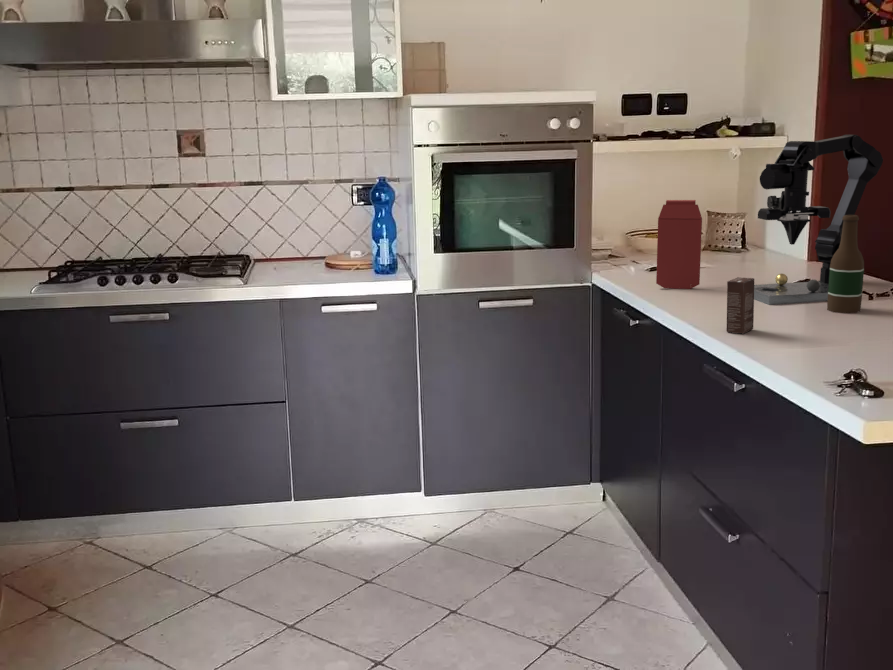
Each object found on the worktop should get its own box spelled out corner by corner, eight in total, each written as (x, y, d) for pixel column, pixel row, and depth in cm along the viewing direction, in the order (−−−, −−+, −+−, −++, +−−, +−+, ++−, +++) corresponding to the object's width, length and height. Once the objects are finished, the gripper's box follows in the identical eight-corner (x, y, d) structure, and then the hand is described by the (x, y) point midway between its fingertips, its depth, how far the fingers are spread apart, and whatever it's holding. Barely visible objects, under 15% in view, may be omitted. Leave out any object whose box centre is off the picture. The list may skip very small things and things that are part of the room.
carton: (699, 286, 264) (702, 200, 258) (699, 289, 259) (702, 201, 254) (656, 285, 267) (659, 200, 261) (656, 288, 262) (658, 201, 257)
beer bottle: (845, 316, 220) (853, 217, 214) (819, 310, 227) (826, 215, 221) (867, 312, 223) (875, 215, 218) (841, 307, 230) (848, 212, 225)
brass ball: (783, 283, 250) (784, 272, 250) (789, 285, 247) (790, 274, 246) (772, 284, 250) (773, 273, 249) (778, 286, 247) (779, 274, 246)
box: (734, 327, 211) (737, 276, 209) (753, 329, 208) (756, 278, 206) (724, 332, 207) (726, 280, 204) (743, 334, 204) (746, 282, 201)
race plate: (817, 290, 253) (818, 281, 253) (850, 300, 238) (851, 291, 237) (740, 294, 250) (741, 285, 249) (769, 305, 235) (769, 295, 234)
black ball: (815, 290, 240) (816, 278, 239) (821, 292, 237) (822, 280, 236) (804, 290, 240) (804, 278, 239) (810, 293, 237) (811, 280, 236)
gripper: (811, 184, 257) (807, 239, 260) (749, 186, 254) (746, 242, 258) (833, 187, 246) (829, 244, 249) (769, 189, 243) (765, 247, 247)
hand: (792, 244), depth 251 cm, fingers closed
